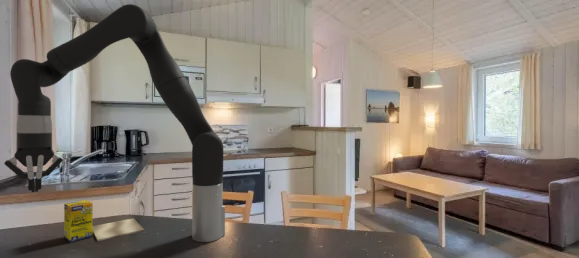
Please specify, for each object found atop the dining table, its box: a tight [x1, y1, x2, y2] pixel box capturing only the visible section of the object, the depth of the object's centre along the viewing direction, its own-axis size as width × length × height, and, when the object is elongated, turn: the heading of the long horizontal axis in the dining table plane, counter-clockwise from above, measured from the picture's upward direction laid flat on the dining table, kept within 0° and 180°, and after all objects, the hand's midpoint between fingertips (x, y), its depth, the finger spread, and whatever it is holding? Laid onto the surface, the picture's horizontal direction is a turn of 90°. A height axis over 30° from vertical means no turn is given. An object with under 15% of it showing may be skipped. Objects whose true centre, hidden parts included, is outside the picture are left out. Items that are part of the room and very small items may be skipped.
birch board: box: [92, 218, 145, 242], centre depth 96 cm, size 13×14×1 cm
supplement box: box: [63, 199, 94, 244], centre depth 89 cm, size 6×6×11 cm
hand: (35, 191), depth 82 cm, fingers closed
